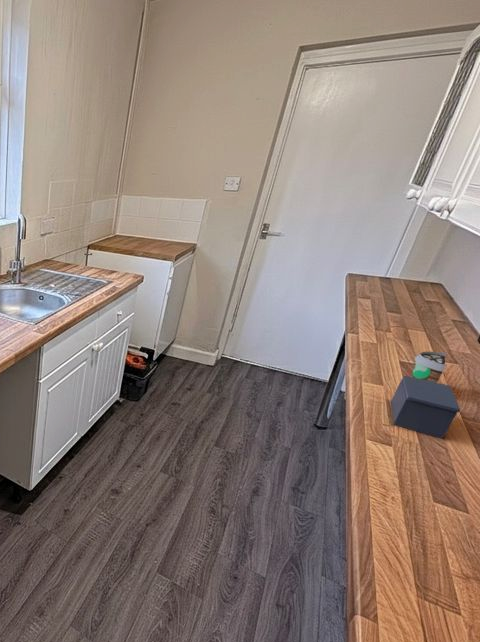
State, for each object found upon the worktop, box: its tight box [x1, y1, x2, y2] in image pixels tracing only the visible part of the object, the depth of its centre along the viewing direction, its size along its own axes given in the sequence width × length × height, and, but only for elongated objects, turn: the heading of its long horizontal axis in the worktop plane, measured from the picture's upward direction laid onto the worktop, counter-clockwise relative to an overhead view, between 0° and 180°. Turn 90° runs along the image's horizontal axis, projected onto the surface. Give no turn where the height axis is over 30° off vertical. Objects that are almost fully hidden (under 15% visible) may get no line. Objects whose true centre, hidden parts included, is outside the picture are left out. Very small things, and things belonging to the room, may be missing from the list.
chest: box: [390, 377, 458, 439], centre depth 109 cm, size 15×9×8 cm, turn 138°
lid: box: [402, 375, 461, 414], centre depth 107 cm, size 16×9×1 cm, turn 138°
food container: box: [410, 351, 448, 383], centre depth 126 cm, size 12×6×10 cm, turn 133°
